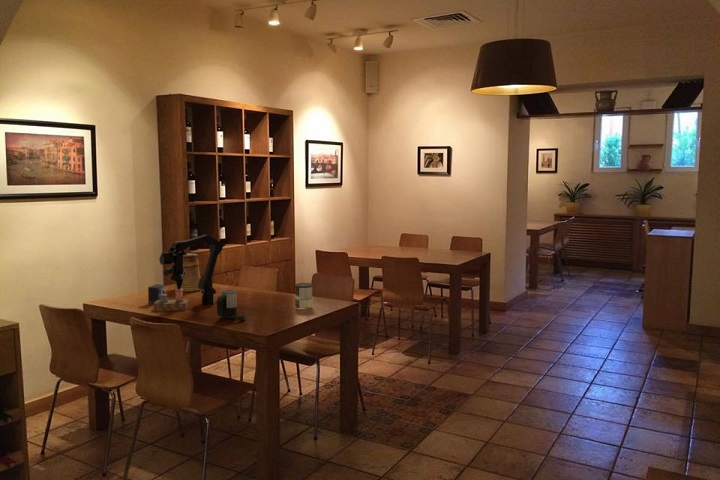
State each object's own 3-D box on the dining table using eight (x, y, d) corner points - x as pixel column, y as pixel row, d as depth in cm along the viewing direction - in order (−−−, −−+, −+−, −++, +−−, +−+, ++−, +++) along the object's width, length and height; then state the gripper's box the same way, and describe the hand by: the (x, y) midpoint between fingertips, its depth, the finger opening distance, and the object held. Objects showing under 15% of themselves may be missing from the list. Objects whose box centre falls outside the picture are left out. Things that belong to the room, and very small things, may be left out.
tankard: (186, 293, 385) (186, 256, 383) (164, 289, 399) (164, 252, 396) (208, 289, 400) (208, 253, 397) (186, 285, 414) (186, 250, 411)
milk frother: (223, 315, 329) (223, 289, 328) (251, 316, 328) (250, 290, 326) (214, 321, 315) (214, 294, 314) (243, 322, 314) (243, 295, 312)
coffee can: (291, 308, 348) (291, 285, 346) (300, 305, 357) (300, 282, 355) (306, 310, 343) (306, 286, 342) (315, 306, 352) (315, 283, 351)
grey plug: (168, 307, 345) (167, 293, 344) (166, 309, 341) (166, 295, 340) (160, 307, 345) (159, 294, 344) (158, 309, 340) (158, 295, 339)
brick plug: (183, 302, 346) (183, 288, 345) (182, 303, 342) (182, 290, 341) (175, 302, 346) (175, 288, 345) (174, 303, 341) (174, 290, 340)
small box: (157, 304, 353) (157, 287, 351) (147, 304, 354) (147, 287, 353) (166, 301, 363) (166, 284, 362) (157, 300, 364) (156, 283, 363)
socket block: (188, 306, 350) (188, 299, 349) (186, 310, 340) (186, 303, 339) (157, 306, 347) (156, 300, 346) (153, 310, 337) (153, 303, 337)
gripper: (166, 260, 349) (167, 286, 351) (161, 265, 331) (161, 292, 332) (186, 260, 351) (186, 286, 352) (181, 265, 332) (182, 292, 334)
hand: (179, 289), depth 343 cm, fingers closed
